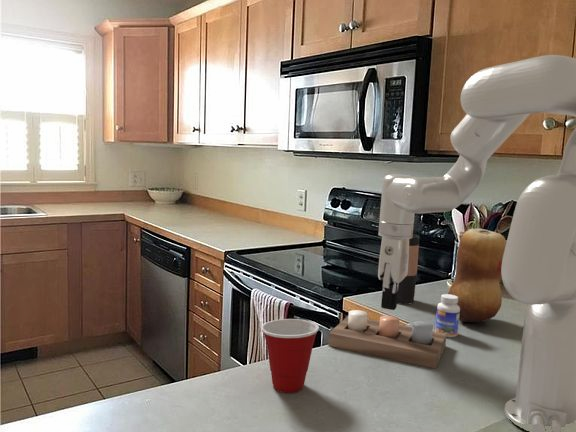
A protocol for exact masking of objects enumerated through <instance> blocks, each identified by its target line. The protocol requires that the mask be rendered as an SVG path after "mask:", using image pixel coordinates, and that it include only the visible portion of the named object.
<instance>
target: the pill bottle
mask: <svg viewBox="0 0 576 432" xmlns="http://www.w3.org/2000/svg"><path fill="white" fill-rule="evenodd" d="M457 303H458V297H457V296H455V295H451V294H448V293H444V294H441V297H440V302H438V304H437V308H436V317H435V325H434V326H435V327H434V328H435V329H434V332H440V333H445V334H447V335H446V338H455V337H457V336H458V331H459V324H460V318H459V315H460V307H459V306H458V305H457Z"/></svg>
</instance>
